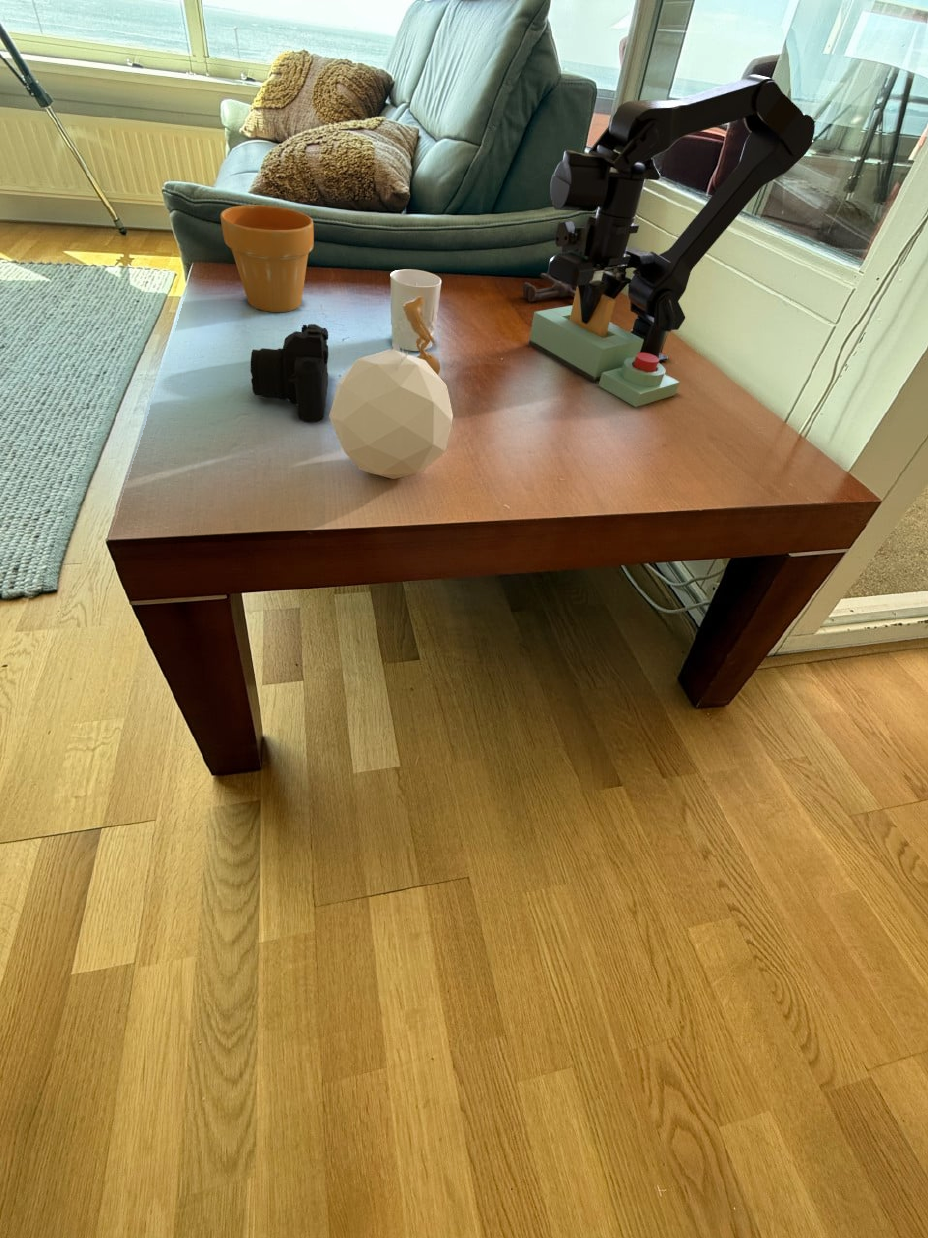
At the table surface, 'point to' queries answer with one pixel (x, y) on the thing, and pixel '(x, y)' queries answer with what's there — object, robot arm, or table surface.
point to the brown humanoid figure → (548, 289)
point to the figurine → (421, 331)
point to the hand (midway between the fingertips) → (589, 321)
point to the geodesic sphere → (392, 413)
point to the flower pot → (269, 253)
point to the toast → (594, 315)
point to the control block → (638, 384)
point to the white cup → (408, 289)
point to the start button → (646, 362)
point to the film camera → (295, 372)
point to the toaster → (581, 343)
